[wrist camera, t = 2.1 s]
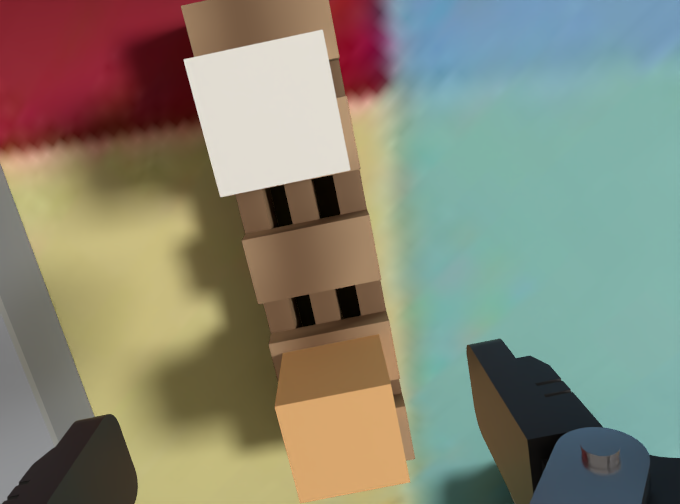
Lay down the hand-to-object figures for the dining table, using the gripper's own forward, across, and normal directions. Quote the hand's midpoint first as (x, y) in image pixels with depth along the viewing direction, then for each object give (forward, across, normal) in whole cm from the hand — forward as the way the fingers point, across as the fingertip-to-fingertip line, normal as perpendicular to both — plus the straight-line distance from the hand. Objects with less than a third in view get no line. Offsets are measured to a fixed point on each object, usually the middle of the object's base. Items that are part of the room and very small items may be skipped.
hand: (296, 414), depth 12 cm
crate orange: (+12, 0, +6) cm, 14 cm away
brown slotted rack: (+16, 0, 0) cm, 17 cm away
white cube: (+12, 0, -6) cm, 14 cm away
